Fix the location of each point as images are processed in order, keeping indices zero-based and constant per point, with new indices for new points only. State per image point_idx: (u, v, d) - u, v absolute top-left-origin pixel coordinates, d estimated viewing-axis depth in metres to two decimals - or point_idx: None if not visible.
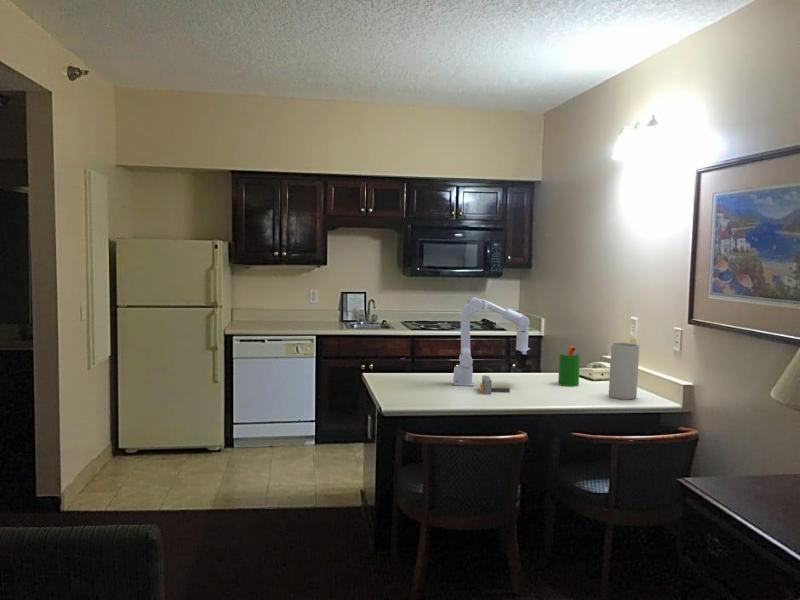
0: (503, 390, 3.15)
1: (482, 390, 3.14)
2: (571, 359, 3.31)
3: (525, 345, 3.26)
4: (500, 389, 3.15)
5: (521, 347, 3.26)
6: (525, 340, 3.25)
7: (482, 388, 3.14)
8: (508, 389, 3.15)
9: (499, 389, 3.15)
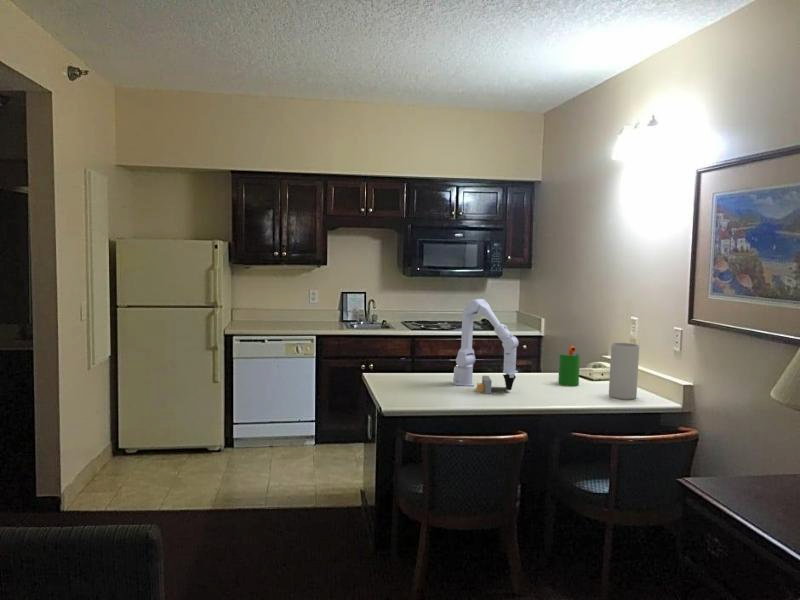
0: (500, 390, 3.15)
1: (479, 390, 3.15)
2: (571, 359, 3.31)
3: (513, 368, 3.13)
4: (497, 389, 3.15)
5: (508, 370, 3.12)
6: (513, 363, 3.12)
7: (479, 388, 3.14)
8: (505, 389, 3.15)
9: (496, 389, 3.15)
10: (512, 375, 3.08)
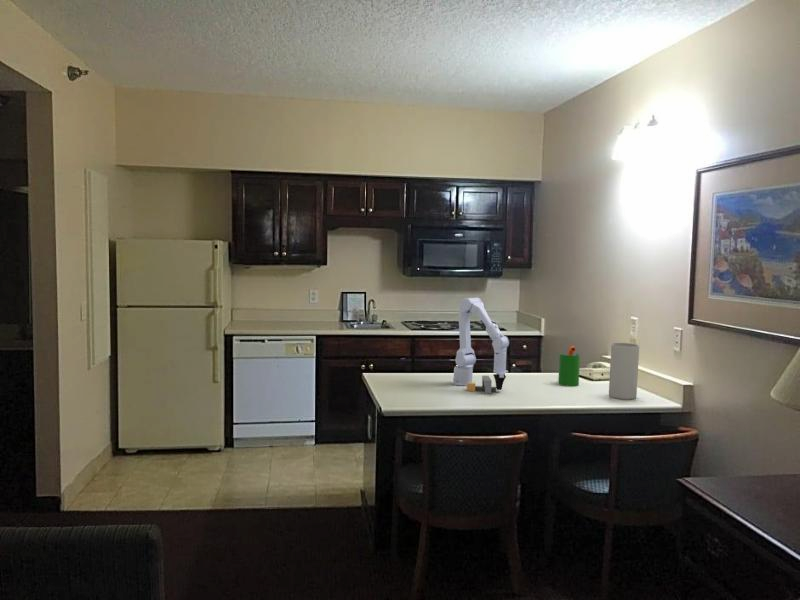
0: None
1: (468, 389, 3.16)
2: (571, 359, 3.31)
3: (503, 368, 3.13)
4: None
5: (498, 370, 3.12)
6: (503, 363, 3.12)
7: (468, 387, 3.16)
8: (494, 388, 3.15)
9: None
10: (502, 375, 3.08)
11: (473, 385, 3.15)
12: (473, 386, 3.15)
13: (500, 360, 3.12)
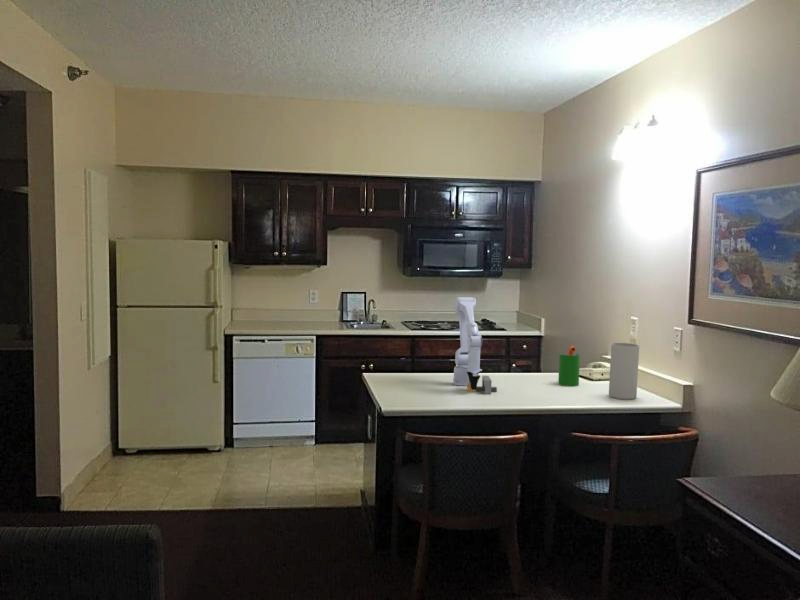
0: None
1: (469, 389, 3.15)
2: (571, 359, 3.31)
3: (476, 366, 3.13)
4: None
5: (472, 368, 3.12)
6: (476, 361, 3.12)
7: (469, 387, 3.15)
8: (495, 388, 3.15)
9: None
10: (475, 373, 3.08)
11: None
12: None
13: (470, 358, 3.13)
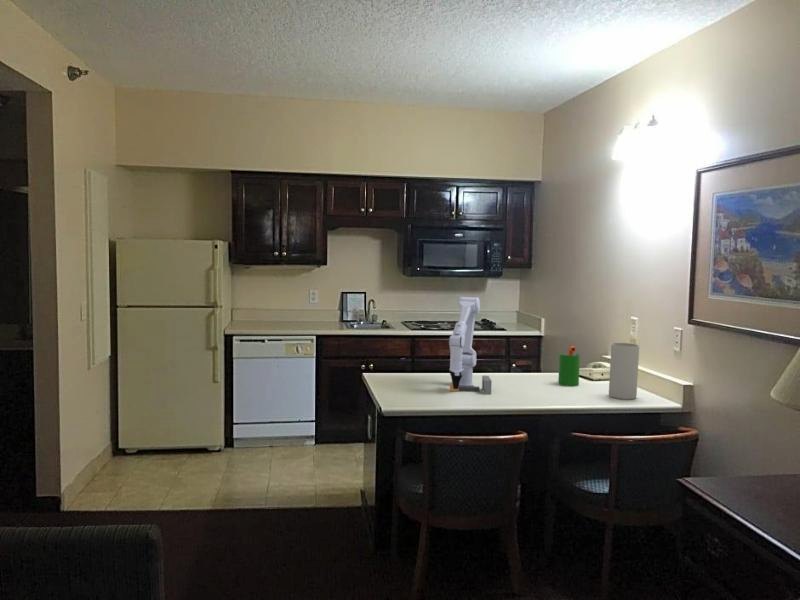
0: (473, 389, 3.15)
1: (452, 389, 3.14)
2: (571, 359, 3.31)
3: (459, 366, 3.13)
4: (470, 388, 3.15)
5: (454, 368, 3.12)
6: (459, 361, 3.12)
7: (452, 387, 3.14)
8: (478, 388, 3.15)
9: (469, 388, 3.15)
10: (457, 373, 3.08)
11: None
12: None
13: (450, 357, 3.14)
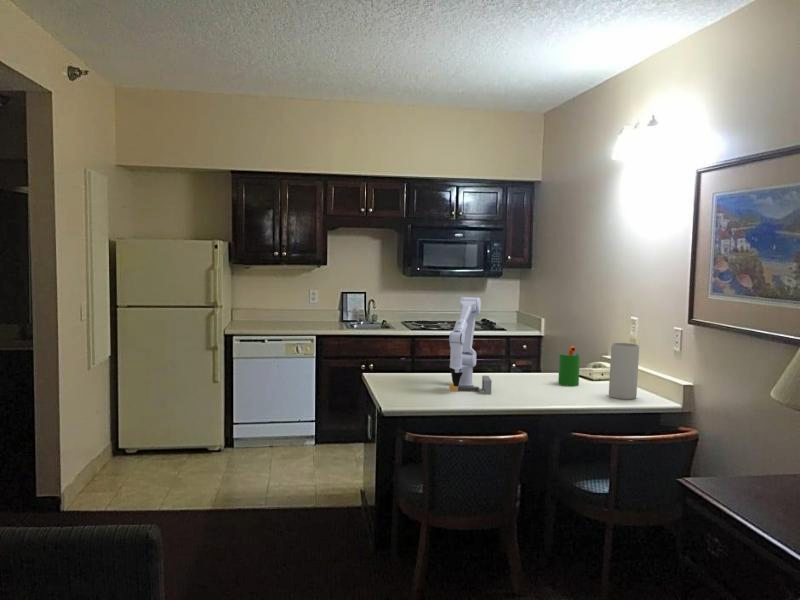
0: (472, 389, 3.15)
1: (451, 389, 3.14)
2: (571, 359, 3.31)
3: (459, 363, 3.12)
4: (469, 388, 3.15)
5: (454, 365, 3.12)
6: (459, 357, 3.12)
7: (451, 387, 3.14)
8: (477, 388, 3.15)
9: (468, 388, 3.15)
10: (457, 370, 3.08)
11: None
12: (456, 386, 3.14)
13: (450, 354, 3.14)
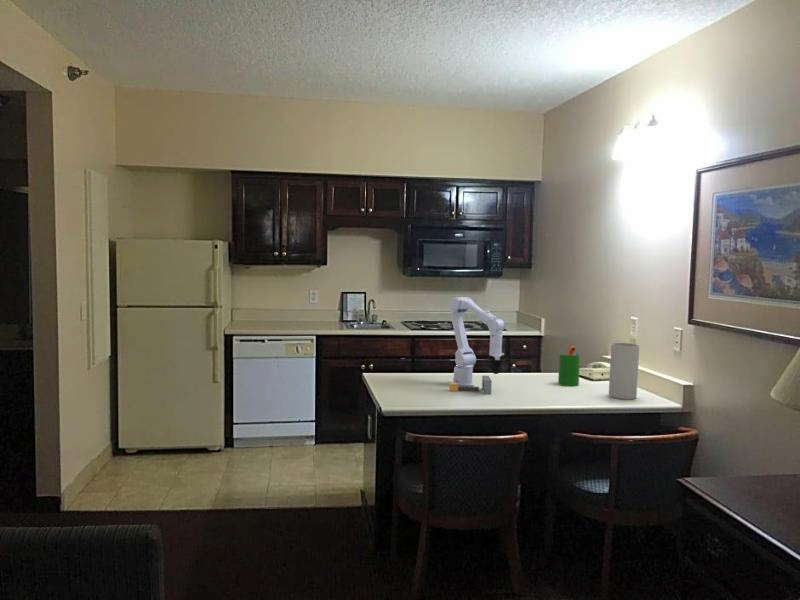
0: (472, 389, 3.15)
1: (451, 389, 3.14)
2: (571, 359, 3.31)
3: (498, 350, 3.12)
4: (469, 388, 3.15)
5: (494, 352, 3.12)
6: (498, 345, 3.12)
7: (451, 387, 3.14)
8: (477, 388, 3.15)
9: (468, 388, 3.15)
10: (498, 357, 3.08)
11: (456, 385, 3.14)
12: (456, 386, 3.14)
13: (495, 342, 3.11)
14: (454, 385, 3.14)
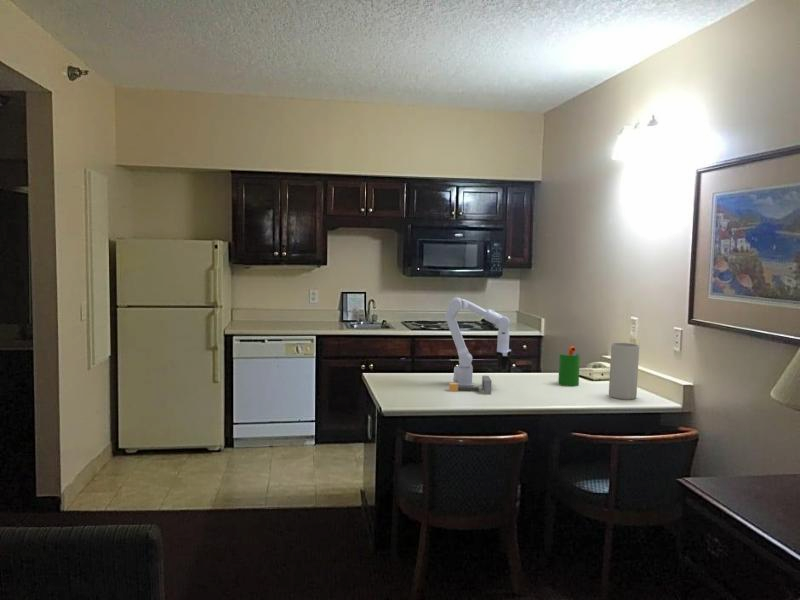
0: (472, 389, 3.15)
1: (451, 389, 3.14)
2: (571, 359, 3.31)
3: (506, 347, 3.23)
4: (469, 388, 3.15)
5: (502, 349, 3.23)
6: (506, 342, 3.23)
7: (451, 387, 3.14)
8: (477, 388, 3.15)
9: (468, 388, 3.15)
10: (505, 353, 3.19)
11: (456, 385, 3.14)
12: (456, 386, 3.14)
13: (506, 339, 3.23)
14: (454, 385, 3.14)
